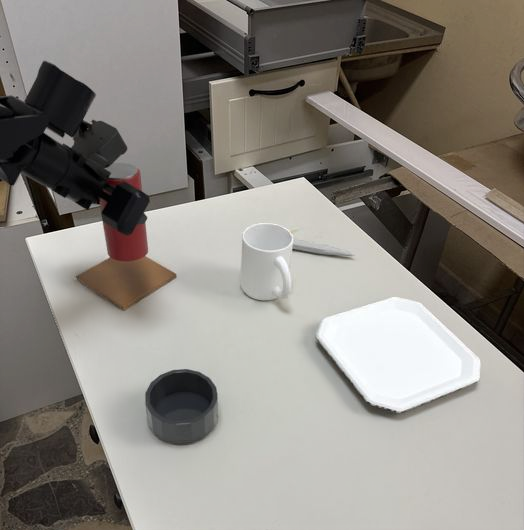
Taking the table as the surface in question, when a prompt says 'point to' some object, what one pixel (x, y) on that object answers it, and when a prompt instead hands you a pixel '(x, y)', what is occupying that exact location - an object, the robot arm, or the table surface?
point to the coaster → (126, 280)
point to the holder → (181, 406)
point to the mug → (266, 261)
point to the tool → (319, 248)
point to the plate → (398, 353)
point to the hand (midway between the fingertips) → (131, 211)
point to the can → (136, 243)
